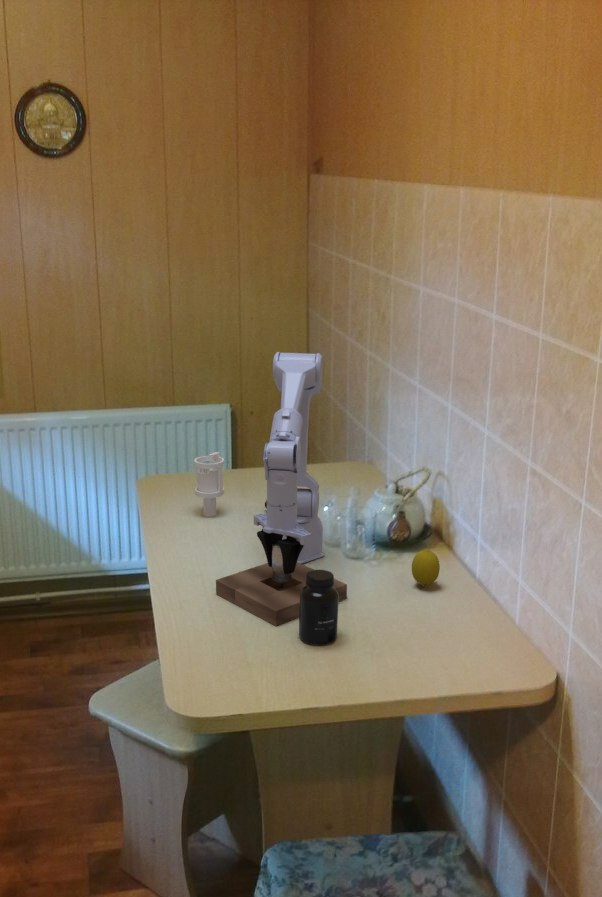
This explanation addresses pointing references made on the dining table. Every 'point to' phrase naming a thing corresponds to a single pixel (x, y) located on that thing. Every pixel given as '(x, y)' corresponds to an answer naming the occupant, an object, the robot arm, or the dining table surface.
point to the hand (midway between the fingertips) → (281, 569)
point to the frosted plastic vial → (278, 565)
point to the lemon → (425, 567)
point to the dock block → (269, 592)
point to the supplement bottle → (318, 608)
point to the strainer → (209, 481)
